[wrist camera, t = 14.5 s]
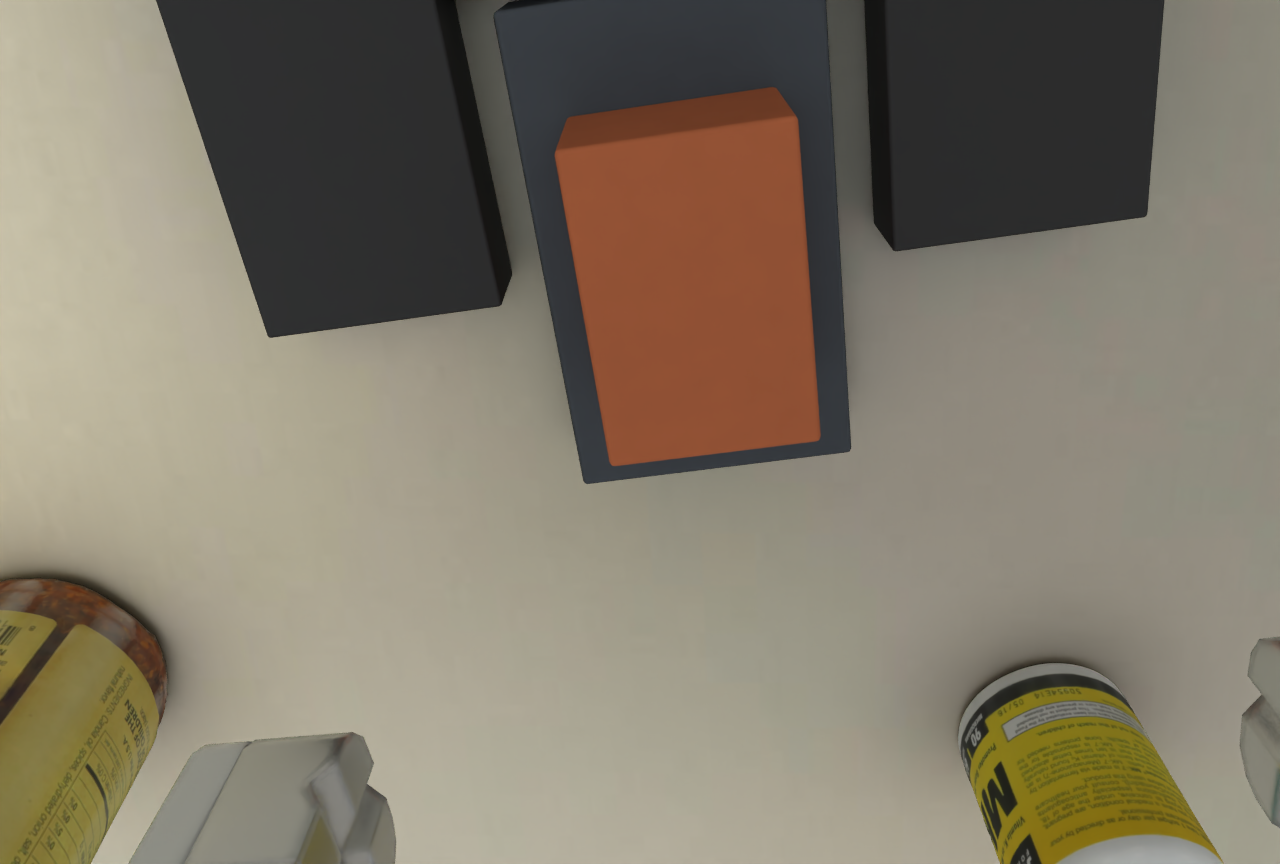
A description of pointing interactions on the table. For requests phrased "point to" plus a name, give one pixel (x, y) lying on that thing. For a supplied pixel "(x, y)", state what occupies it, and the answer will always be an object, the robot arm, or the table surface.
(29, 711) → the sauce bottle
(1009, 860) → the supplement bottle
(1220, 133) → the table surface
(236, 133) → the base pad
